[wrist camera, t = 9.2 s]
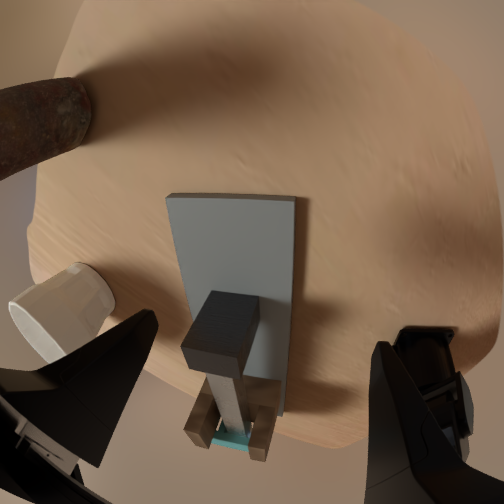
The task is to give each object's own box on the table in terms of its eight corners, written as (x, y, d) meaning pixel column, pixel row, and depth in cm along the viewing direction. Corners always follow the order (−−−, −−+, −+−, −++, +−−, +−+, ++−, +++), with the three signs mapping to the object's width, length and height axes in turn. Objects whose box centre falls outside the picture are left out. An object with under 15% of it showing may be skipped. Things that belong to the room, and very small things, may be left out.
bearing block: (283, 374, 31) (264, 449, 23) (281, 396, 34) (265, 462, 26) (212, 361, 33) (183, 429, 25) (219, 385, 36) (195, 445, 28)
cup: (115, 334, 37) (77, 388, 28) (57, 281, 34) (13, 327, 25) (140, 296, 30) (86, 367, 21) (66, 230, 28) (2, 282, 19)
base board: (295, 196, 19) (294, 201, 19) (283, 411, 37) (282, 416, 36) (171, 193, 22) (165, 197, 21) (220, 399, 39) (218, 404, 38)
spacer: (275, 418, 31) (266, 449, 27) (274, 426, 33) (267, 455, 29) (214, 406, 33) (202, 435, 29) (217, 414, 35) (207, 441, 31)
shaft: (258, 295, 24) (236, 357, 18) (265, 410, 36) (254, 450, 30) (211, 290, 25) (180, 346, 19) (236, 405, 37) (223, 443, 31)
